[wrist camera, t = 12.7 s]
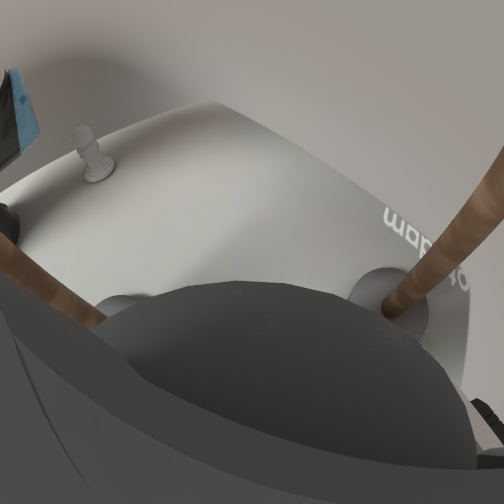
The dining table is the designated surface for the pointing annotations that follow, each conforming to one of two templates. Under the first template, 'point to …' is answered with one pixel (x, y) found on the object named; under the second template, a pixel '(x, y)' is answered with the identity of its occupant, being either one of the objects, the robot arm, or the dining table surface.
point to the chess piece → (91, 155)
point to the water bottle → (230, 404)
